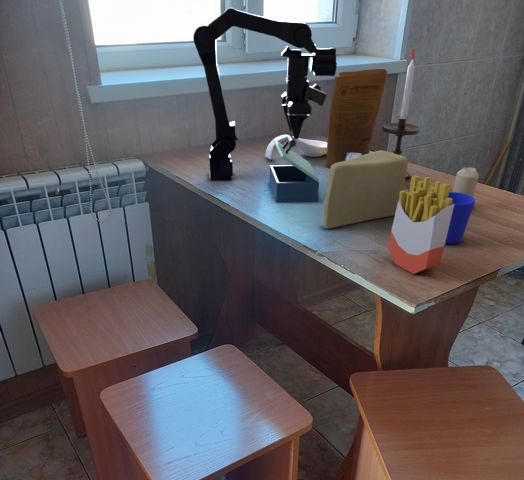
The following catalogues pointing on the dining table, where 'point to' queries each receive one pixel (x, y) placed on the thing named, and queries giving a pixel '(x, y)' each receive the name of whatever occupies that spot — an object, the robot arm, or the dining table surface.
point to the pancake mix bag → (353, 113)
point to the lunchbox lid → (295, 157)
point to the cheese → (364, 188)
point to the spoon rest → (300, 147)
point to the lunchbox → (292, 184)
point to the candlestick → (404, 114)
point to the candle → (466, 181)
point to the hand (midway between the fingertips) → (293, 135)
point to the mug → (459, 216)
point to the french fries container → (421, 225)
